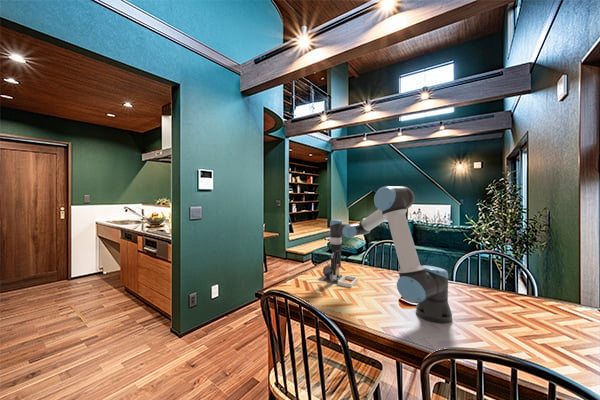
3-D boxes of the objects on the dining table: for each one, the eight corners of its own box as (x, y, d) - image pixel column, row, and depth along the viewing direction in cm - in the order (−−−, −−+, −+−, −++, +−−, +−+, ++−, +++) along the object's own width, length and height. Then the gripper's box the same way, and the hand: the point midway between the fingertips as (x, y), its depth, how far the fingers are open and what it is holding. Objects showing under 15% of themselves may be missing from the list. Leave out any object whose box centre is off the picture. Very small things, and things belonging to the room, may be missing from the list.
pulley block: (338, 285, 152) (337, 271, 152) (317, 281, 160) (316, 268, 160) (345, 279, 163) (345, 266, 163) (325, 275, 171) (325, 263, 171)
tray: (351, 288, 147) (351, 283, 147) (337, 285, 152) (337, 281, 152) (358, 281, 158) (358, 277, 158) (345, 279, 163) (345, 275, 163)
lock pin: (337, 282, 156) (337, 265, 156) (332, 281, 158) (332, 264, 158) (339, 280, 159) (339, 264, 159) (334, 279, 161) (334, 263, 160)
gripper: (336, 246, 149) (336, 283, 149) (345, 241, 163) (345, 275, 163) (325, 245, 153) (325, 281, 153) (335, 240, 167) (335, 273, 167)
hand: (336, 278), depth 158 cm, fingers closed on lock pin, 3 cm apart
